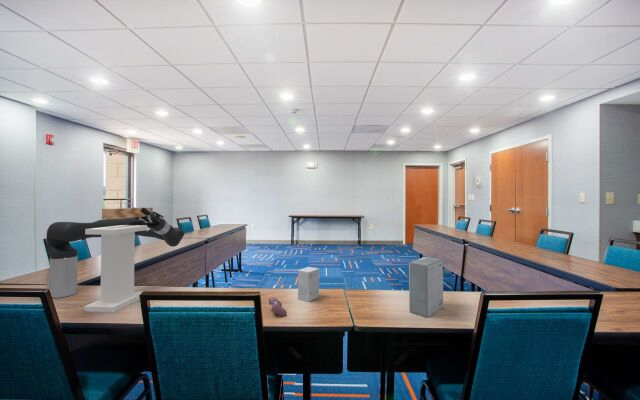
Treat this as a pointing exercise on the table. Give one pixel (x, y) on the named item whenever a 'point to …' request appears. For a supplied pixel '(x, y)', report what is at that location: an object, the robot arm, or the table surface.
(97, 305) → the plinth
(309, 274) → the small box
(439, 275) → the hard drive box
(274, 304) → the purple toy animal
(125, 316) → the table surface
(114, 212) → the baton
